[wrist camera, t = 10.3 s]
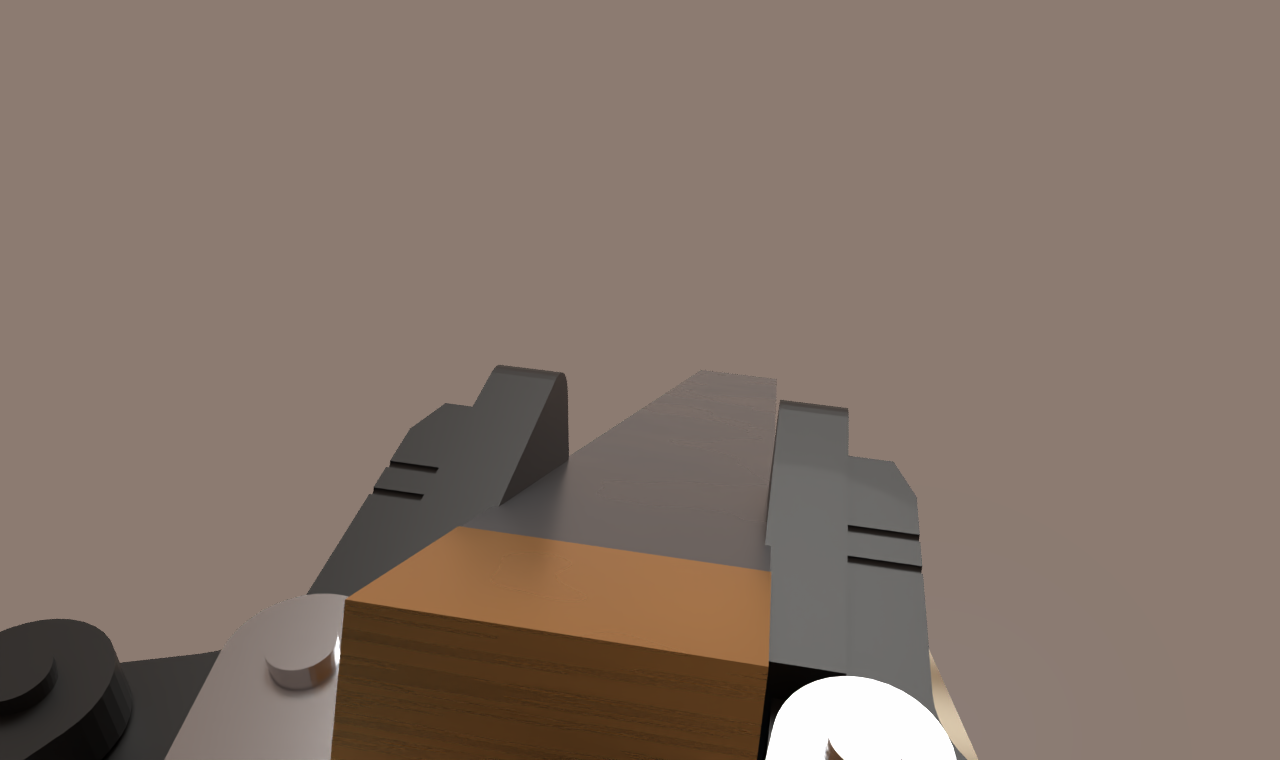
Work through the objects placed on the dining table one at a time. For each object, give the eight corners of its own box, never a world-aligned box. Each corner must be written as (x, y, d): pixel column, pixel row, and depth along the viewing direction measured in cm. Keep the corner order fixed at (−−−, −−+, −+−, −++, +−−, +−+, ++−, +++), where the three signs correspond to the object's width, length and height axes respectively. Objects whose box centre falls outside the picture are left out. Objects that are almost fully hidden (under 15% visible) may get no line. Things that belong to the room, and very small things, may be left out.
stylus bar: (715, 1087, 5) (768, 665, 5) (308, 997, 6) (344, 598, 6) (767, 454, 31) (777, 379, 31) (692, 444, 32) (700, 369, 31)
